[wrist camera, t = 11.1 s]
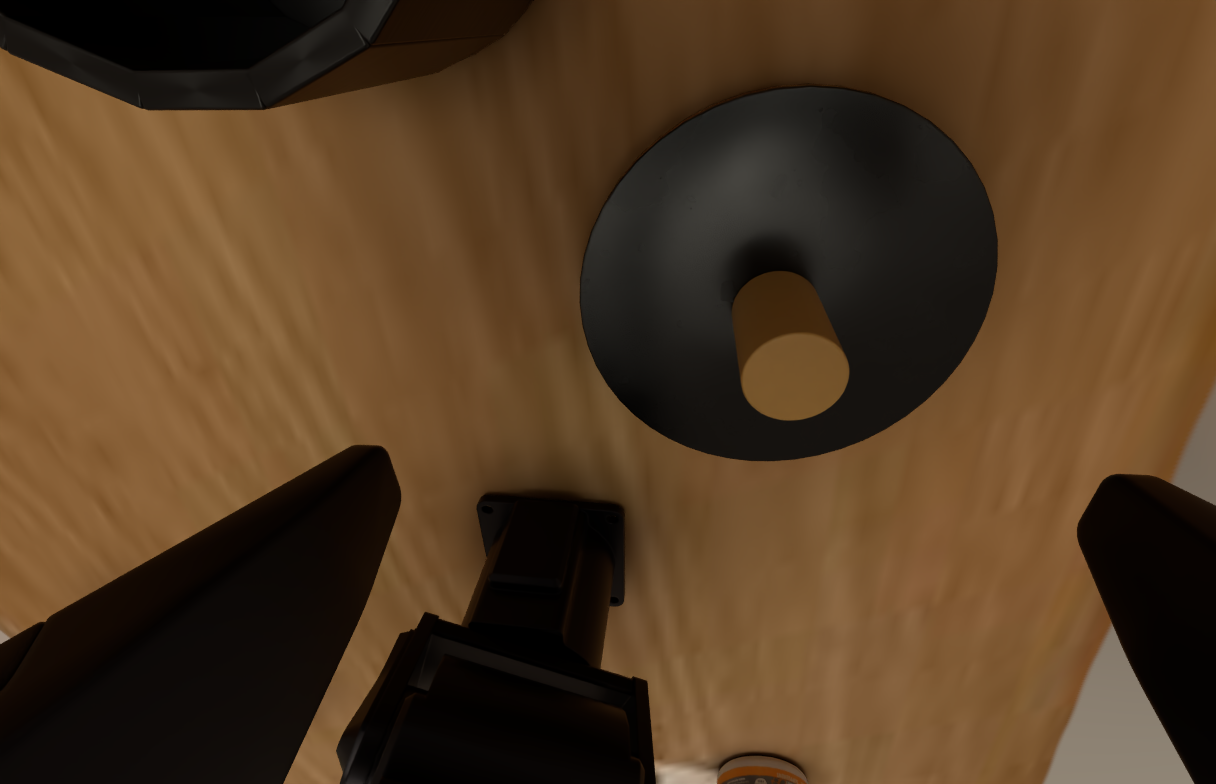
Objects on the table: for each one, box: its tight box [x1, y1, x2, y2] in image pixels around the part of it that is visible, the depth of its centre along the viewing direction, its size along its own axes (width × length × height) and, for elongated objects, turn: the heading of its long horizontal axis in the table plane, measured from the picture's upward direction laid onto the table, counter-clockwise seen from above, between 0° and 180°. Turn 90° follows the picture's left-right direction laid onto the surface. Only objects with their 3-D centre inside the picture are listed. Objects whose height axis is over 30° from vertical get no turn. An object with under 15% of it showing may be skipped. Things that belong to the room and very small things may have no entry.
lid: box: [580, 84, 998, 461], centre depth 16 cm, size 12×12×5 cm
